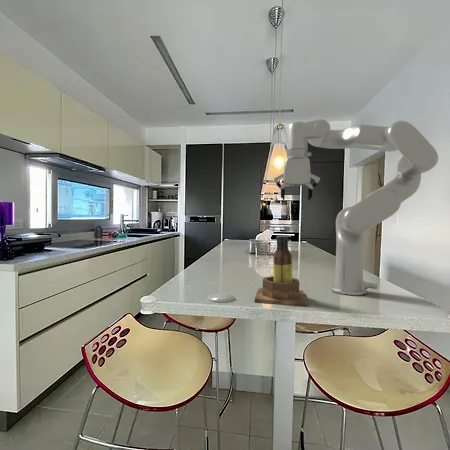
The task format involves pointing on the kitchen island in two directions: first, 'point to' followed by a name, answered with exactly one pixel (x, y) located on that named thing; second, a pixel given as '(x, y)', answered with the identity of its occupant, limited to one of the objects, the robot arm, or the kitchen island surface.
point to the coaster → (221, 298)
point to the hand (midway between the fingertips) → (296, 199)
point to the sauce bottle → (282, 261)
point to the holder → (280, 293)
